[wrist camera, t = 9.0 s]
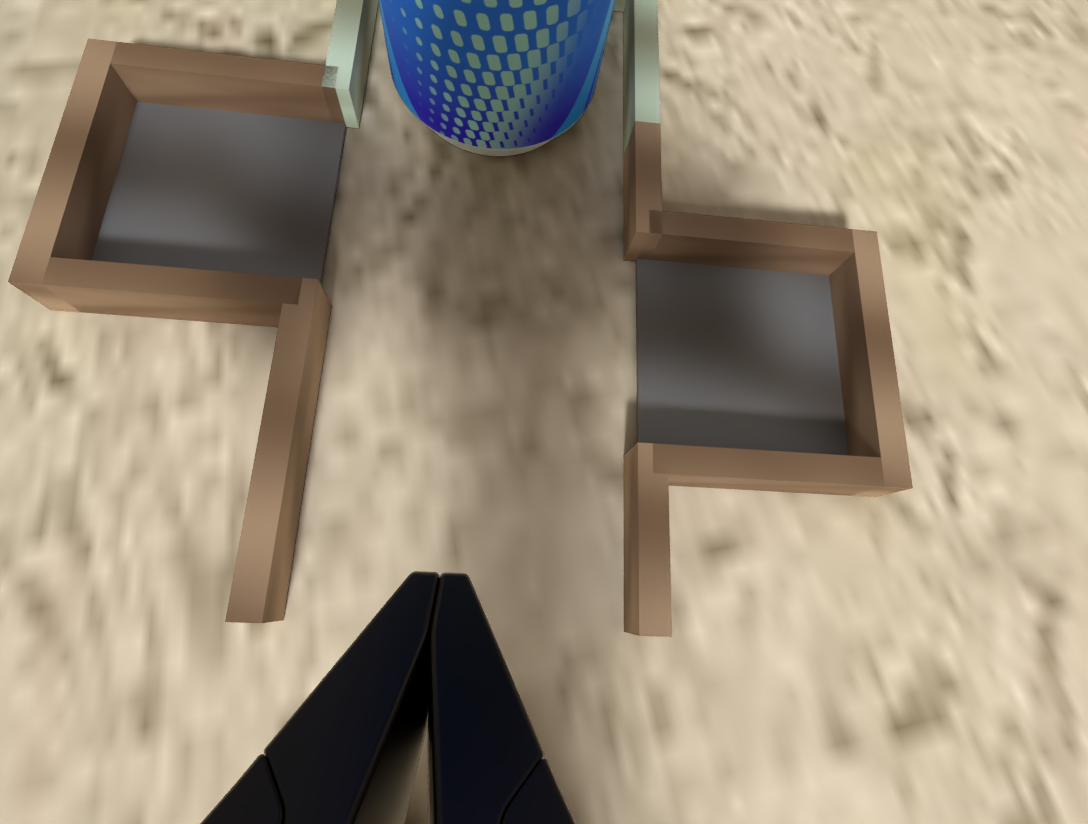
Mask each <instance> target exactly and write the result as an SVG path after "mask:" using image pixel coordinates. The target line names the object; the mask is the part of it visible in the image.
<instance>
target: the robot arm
mask: <svg viewBox="0 0 1088 824" xmlns="http://www.w3.org/2000/svg"><path fill="white" fill-rule="evenodd" d="M427 720H428V824H576V823H575V821H574V819H573V817H572V815H571V812H570V810H569V808H568V806H567V804H566V802H565V799H564V797H563V795H562V793H561V791H560V789H559V787H558V784H557V782H556V780H555V777H554V775H553V772H552V770H551V768H550V765H549V763H548V761H547V760H546V759H544V752H543V750H542V747H541V745H540V743H539V740H538V738H537V736H536V733H535V731H534V728H533V726H532V724H531V721H530V719H529V717H528V714H527V712H526V710H525V707H524V705H523V703H522V700H521V698H520V695H519V693H518V691H517V688H516V686H515V684H514V681H513V679H512V677H511V674H510V672H509V670H508V667H507V665H506V662H505V660H504V658H503V655H502V653H501V651H500V648H499V646H498V644H497V641H496V639H495V637H494V634H493V632H492V629H491V627H490V625H489V622H488V620H487V618H486V615H485V613H484V611H483V608H482V606H481V603H480V601H479V599H478V596H477V594H476V592H475V589H474V587H473V585H472V582H471V580H470V578H469V576H468V575H467V574H464V573H443V574H441V576H439V574H438V573H436V572H419V571H415V572H412V573H411V574H410V575H409V576H408V577H407V578H406V580H405V581H404V582H403V583H402V584H401V586H400V587H399V588H398V589H397V590H396V592H395V593H394V594H393V595H392V596H391V598H390V599H389V600H388V601H387V602H386V604H385V605H384V606H383V607H382V608H381V610H380V611H379V612H378V613H377V614H376V616H375V617H374V618H373V619H372V620H371V622H370V623H369V624H368V625H367V627H366V628H365V629H364V630H363V631H362V633H361V634H360V635H359V636H358V637H357V639H356V640H355V641H354V642H353V643H352V645H351V646H350V647H349V648H348V649H347V651H346V652H345V653H344V654H343V655H342V657H341V658H340V659H339V660H338V661H337V663H336V664H335V665H334V666H333V667H332V669H331V670H330V671H329V672H328V673H327V675H326V676H325V677H324V678H323V679H322V681H321V682H320V683H319V684H318V685H317V687H316V688H315V689H314V690H313V692H312V693H311V694H310V695H309V696H308V698H307V699H306V700H305V701H304V702H303V704H302V705H301V706H300V707H299V708H298V710H297V711H296V712H295V713H294V714H293V716H292V717H291V718H290V719H289V720H288V722H287V723H286V724H285V725H284V726H283V728H282V729H281V730H280V731H279V732H278V734H277V735H276V736H275V737H274V738H273V740H272V741H271V742H270V743H269V744H268V746H267V747H266V748H265V750H264V754H261V755H259V756H258V757H257V758H256V760H255V761H254V762H253V763H252V764H251V766H250V767H249V768H248V769H247V771H246V772H245V773H244V774H243V775H242V777H241V778H240V779H239V780H238V781H237V783H236V784H235V785H234V786H233V787H232V788H231V789H230V791H229V792H228V793H227V794H226V795H225V796H224V797H223V799H222V800H221V801H220V802H219V803H218V804H217V805H216V807H215V808H214V809H213V810H212V811H211V812H210V813H209V815H208V816H207V817H206V818H205V819H204V820H203V821H202V822H201V824H405V820H406V815H407V811H408V807H409V802H410V798H411V794H412V789H413V785H414V781H415V776H416V772H417V768H418V763H419V759H420V755H421V750H422V746H423V741H424V737H425V732H426V727H427Z"/></svg>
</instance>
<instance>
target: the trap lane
mask: <svg viewBox="0 0 1088 824" xmlns="http://www.w3.org/2000/svg"><path fill="white" fill-rule="evenodd" d="M378 1H379V0H337V3H336V9H335V14H334V20H333V26H332V31H331V37H330V42H329V48H328V53H327V59H326V65H317V64H309V63H300V62H291V61H282V60H273V59H264V58H255V57H246V56H238V55H229V54H220V53H211V52H202V51H193V50H184V49H175V48H167V47H158V46H149V45H140V44H131V43H122V42H113V41H104V40H96V39H88V41H87V44H86V47H85V50H84V53H83V56H82V59H81V62H80V65H79V68H78V71H77V74H76V77H75V80H74V83H73V86H72V89H71V92H70V95H69V98H68V101H67V104H66V107H65V110H64V113H63V117H62V120H61V123H60V126H59V129H58V132H57V135H56V138H55V141H54V144H53V147H52V150H51V153H50V156H49V159H48V162H47V165H46V168H45V171H44V174H43V177H42V180H41V183H40V186H39V189H38V192H37V196H36V199H35V202H34V205H33V208H32V211H31V214H30V217H29V220H28V223H27V226H26V229H25V232H24V235H23V238H22V241H21V244H20V247H19V250H18V253H17V256H16V259H15V262H14V265H13V268H12V271H11V275H10V278H9V281H8V282H9V283H10V284H12V285H14V286H15V287H17V288H18V289H20V290H21V291H23V292H24V293H26V294H27V295H29V296H30V297H32V298H33V299H35V300H36V301H38V302H39V303H41V304H42V305H44V306H45V307H47V308H48V309H50V310H60V311H73V312H86V313H100V314H113V315H126V316H139V317H153V318H166V319H179V320H193V321H206V322H219V323H233V324H246V325H259V326H273V327H278V332H277V337H276V343H275V348H274V354H273V359H272V365H271V370H270V376H269V382H268V387H267V393H266V398H265V404H264V409H263V415H262V421H261V426H260V432H259V437H258V443H257V448H256V454H255V459H254V465H253V471H252V476H251V482H250V487H249V493H248V498H247V504H246V510H245V515H244V521H243V526H242V532H241V537H240V543H239V548H238V554H237V560H236V565H235V571H234V576H233V582H232V587H231V593H230V599H229V604H228V610H227V615H226V621H225V622H243V623H266V622H273V621H280V620H283V619H284V613H285V606H286V600H287V593H288V587H289V580H290V574H291V567H292V561H293V554H294V548H295V541H296V535H297V528H298V522H299V515H300V509H301V502H302V496H303V489H304V483H305V476H306V469H307V463H308V456H309V450H310V443H311V437H312V430H313V424H314V417H315V411H316V404H317V398H318V391H319V385H320V378H321V372H322V365H323V359H324V352H325V346H326V339H327V333H328V326H329V320H330V313H331V307H332V306H331V304H330V302H329V300H328V298H327V296H326V294H325V292H324V290H323V288H322V286H321V281H322V275H323V269H324V263H325V257H326V250H327V244H328V238H329V232H330V226H331V219H332V213H333V207H334V201H335V194H336V188H337V182H338V176H339V170H340V163H341V157H342V151H343V145H344V139H345V132H346V127H351V128H359V124H360V118H361V111H362V105H363V98H364V92H365V85H366V79H367V72H368V66H369V59H370V53H371V46H372V40H373V33H374V27H375V20H376V14H377V7H378ZM613 11H621V12H623V34H624V260H628V261H636V322H637V444H636V445H635V446H634V447H633V448H631V449H630V450H629V451H628V452H627V453H626V454H625V455H624V632H628V633H631V634H635V635H639V636H663V637H672V623H671V579H670V535H669V491H668V485H671V486H689V487H707V488H725V489H742V490H760V491H778V492H796V493H814V494H832V495H850V496H868V497H878V496H882V495H886V494H890V493H894V492H898V491H903V490H907V489H911V488H913V487H912V480H911V473H910V466H909V459H908V451H907V444H906V437H905V430H904V423H903V416H902V409H901V402H900V395H899V387H898V380H897V373H896V366H895V359H894V352H893V345H892V338H891V331H890V323H889V316H888V309H887V302H886V295H885V288H884V281H883V274H882V267H881V259H880V252H879V245H878V238H877V232H875V231H865V230H854V229H844V228H834V227H823V226H813V225H803V224H792V223H782V222H772V221H761V220H751V219H741V218H730V217H720V216H710V215H699V214H689V213H679V212H668V211H662V182H661V138H660V93H659V49H658V5H657V0H615V4H614V8H613Z"/></svg>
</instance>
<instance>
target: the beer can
mask: <svg viewBox="0 0 1088 824" xmlns="http://www.w3.org/2000/svg"><path fill="white" fill-rule="evenodd" d="M614 4H615V0H379V5H380V11H381V17H382V23H383V29H384V35H385V40H386V46H387V52H388V58H389V64H390V70H391V75H392V79H393V82H394V84H395V87H396V89H397V92H398V93H399V95H400V97H401V99H402V100H403V102H404V103H405V105H406V106H407V108H408V109H409V110H410V111H411V112H412V113H413V114H414V115H415V116H416V117H417V118H418V119H419V120H420V121H421V122H422V123H423V124H425V125H426V126H427V127H429V128H430V129H432V130H433V131H434V132H435V133H436V134H437V135H439V136H440V137H441V138H443V139H444V140H446V141H447V142H449V143H451V144H453V145H454V146H456V147H459V148H461V149H463V150H466V151H469V152H473V153H476V154H481V155H488V156H511V155H517V154H522V153H526V152H529V151H531V150H534V149H536V148H539V147H541V146H542V145H544V144H546V143H548V142H549V141H550V140H552V139H554V138H555V137H557V136H559V135H561V134H562V133H564V132H565V131H566V130H568V129H569V128H570V127H571V126H572V125H574V124H575V123H576V122H577V121H578V119H579V118H580V117H581V116H582V115H583V113H584V112H585V110H586V109H587V107H588V105H589V103H590V101H591V99H592V96H593V94H594V90H595V86H596V82H597V78H598V73H599V69H600V65H601V60H602V56H603V52H604V47H605V43H606V39H607V34H608V30H609V26H610V21H611V17H612V13H613V8H614Z"/></svg>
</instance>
